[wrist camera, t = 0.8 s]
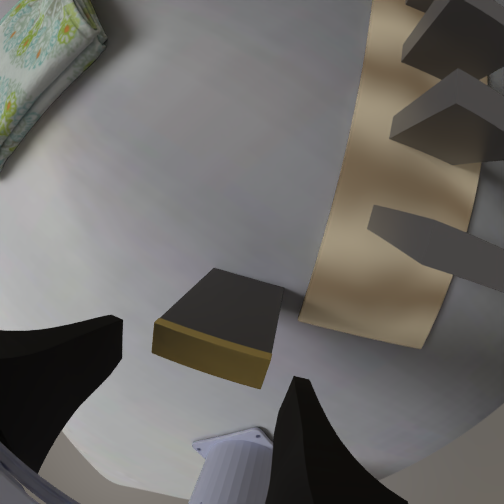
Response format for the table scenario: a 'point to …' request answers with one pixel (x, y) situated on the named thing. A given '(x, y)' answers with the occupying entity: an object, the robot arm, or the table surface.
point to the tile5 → (419, 4)
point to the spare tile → (222, 327)
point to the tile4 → (457, 39)
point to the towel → (42, 60)
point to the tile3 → (454, 121)
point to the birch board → (386, 203)
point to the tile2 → (440, 246)
